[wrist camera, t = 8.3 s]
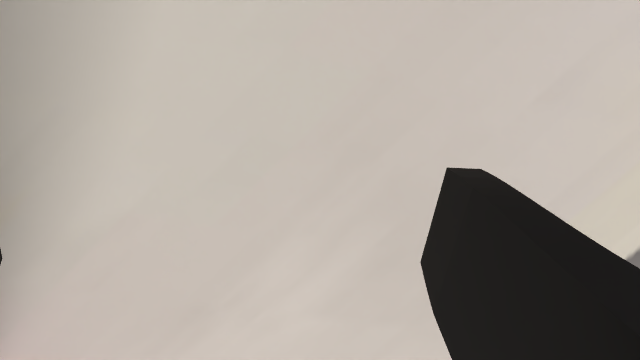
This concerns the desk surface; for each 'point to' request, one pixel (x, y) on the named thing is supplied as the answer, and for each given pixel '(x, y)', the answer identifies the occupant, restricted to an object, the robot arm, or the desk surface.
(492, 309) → the robot arm
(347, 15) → the desk surface
